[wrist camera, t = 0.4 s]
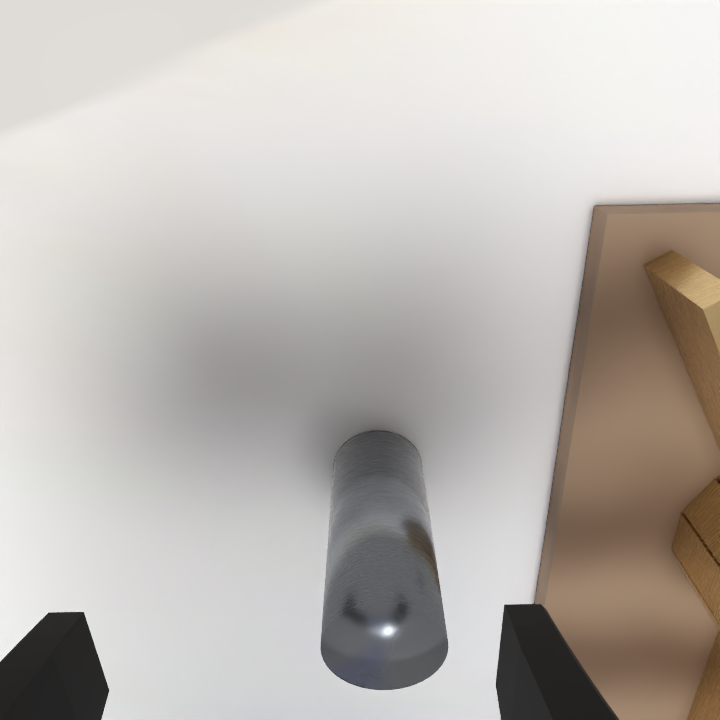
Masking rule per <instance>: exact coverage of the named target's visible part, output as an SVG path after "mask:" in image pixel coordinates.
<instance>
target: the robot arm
mask: <svg viewBox="0 0 720 720" xmlns="http://www.w3.org/2000/svg"><path fill="white" fill-rule="evenodd" d="M496 689H497V695H498V702H499V708H500V714H501V720H619V718H618V717H617V716H616V714H615V713H614V711H613V710H612V709H611V707H610V706H609V705H608V703H607V702H606V700H605V699H604V698H603V696H602V695H601V693H600V692H599V690H598V689H597V688H596V686H595V685H594V683H593V682H592V680H591V679H590V677H589V676H588V674H587V673H586V671H585V670H584V668H583V667H582V665H581V664H580V662H579V661H578V659H577V658H576V656H575V655H574V653H573V652H572V650H571V649H570V647H569V646H568V644H567V642H566V641H565V639H564V638H563V636H562V634H561V633H560V631H559V630H558V628H557V626H556V625H555V623H554V621H553V620H552V618H551V616H550V615H549V613H548V611H547V610H546V608H544V607H543V606H542V605H541V604H519V605H504V613H503V623H502V632H501V641H500V650H499V660H498V669H497V678H496ZM108 693H109V688H108V685H107V682H106V679H105V676H104V673H103V670H102V667H101V664H100V661H99V658H98V655H97V652H96V648H95V645H94V642H93V639H92V636H91V633H90V630H89V627H88V624H87V621H86V618H85V615H84V612H57V613H48V614H47V615H46V616H45V617H44V618H43V619H42V620H41V621H40V622H39V623H38V624H37V625H36V626H35V627H34V628H33V629H32V630H31V631H30V632H29V633H28V634H27V635H26V636H25V637H24V638H23V639H22V640H21V641H20V642H19V643H18V644H17V645H16V646H15V647H14V648H13V649H12V650H11V651H10V652H9V653H8V654H7V655H6V656H5V657H4V658H3V659H2V661H1V662H0V720H101V718H102V715H103V711H104V707H105V704H106V700H107V696H108Z"/></svg>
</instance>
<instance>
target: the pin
mask: <svg viewBox="0 0 720 720" xmlns="http://www.w3.org/2000/svg"><path fill="white" fill-rule="evenodd" d="M447 652H448V639H447V632H446V625H445V619H444V612H443V605H442V598H441V591H440V584H439V578H438V571H437V564H436V557H435V550H434V543H433V537H432V530H431V523H430V516H429V509H428V502H427V496H426V489H425V482H424V475H423V468H422V462H421V458H420V455H419V453H418V451H417V449H416V448H415V447H414V445H413V444H412V443H410V442H409V441H408V440H407V439H405V438H404V437H402V436H400V435H397V434H395V433H391V432H386V431H370V432H365V433H362V434H359V435H357V436H354V437H353V438H351V439H349V440H348V441H347V442H345V443H344V444H343V445H342V447H341V448H340V449H339V451H338V452H337V454H336V457H335V460H334V467H333V481H332V495H331V509H330V523H329V537H328V551H327V565H326V579H325V593H324V607H323V621H322V635H321V654H322V657H323V660H324V662H325V663H326V665H327V667H328V668H329V669H330V670H331V671H332V672H333V673H334V674H335V675H336V676H338V677H339V678H341V679H342V680H344V681H346V682H348V683H350V684H353V685H356V686H359V687H363V688H367V689H375V690H393V689H400V688H404V687H409V686H412V685H415V684H417V683H419V682H422V681H423V680H425V679H427V678H429V677H430V676H431V675H433V674H434V673H435V672H436V671H437V670H438V669H439V668H440V667H441V665H442V664H443V662H444V660H445V658H446V656H447Z"/></svg>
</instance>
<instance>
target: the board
mask: <svg viewBox="0 0 720 720" xmlns="http://www.w3.org/2000/svg"><path fill="white" fill-rule="evenodd" d="M670 250H673V251H675V252H676V253H678V254H680V255H681V256H683V257H684V258H686V259H688V260H689V261H691V262H692V263H694V264H696V265H697V266H699V267H700V268H702V269H704V270H705V271H707V272H709V273H710V274H712V275H713V276H715V277H717V278H718V279H720V203H706V204H660V205H614V206H594V212H593V219H592V225H591V232H590V238H589V245H588V252H587V258H586V265H585V272H584V278H583V285H582V292H581V298H580V305H579V312H578V318H577V325H576V332H575V338H574V345H573V352H572V358H571V365H570V372H569V378H568V385H567V392H566V398H565V405H564V412H563V418H562V425H561V431H560V438H559V445H558V451H557V458H556V465H555V471H554V478H553V485H552V491H551V498H550V505H549V511H548V518H547V525H546V531H545V538H544V545H543V551H542V558H541V565H540V571H539V578H538V585H537V591H536V598H535V604H541V605H542V606H543V607H544V608H546V610H547V611H548V613H549V615H550V616H551V618H552V620H553V621H554V623H555V625H556V626H557V628H558V630H559V631H560V633H561V634H562V636H563V638H564V639H565V641H566V642H567V644H568V646H569V647H570V649H571V650H572V652H573V653H574V655H575V656H576V658H577V659H578V661H579V662H580V664H581V665H582V667H583V668H584V670H585V671H586V673H587V674H588V676H589V677H590V679H591V680H592V682H593V683H594V685H595V686H596V688H597V689H598V690H599V692H600V693H601V695H602V696H603V698H604V699H605V700H606V702H607V703H608V705H609V706H610V707H611V709H612V710H613V711H614V713H615V714H616V716H617V717H618V718H619V720H687V717H688V715H689V712H690V709H691V706H692V703H693V700H694V697H695V695H696V692H697V689H698V686H699V683H700V680H701V678H702V675H703V672H704V669H705V666H706V663H707V660H708V658H709V655H710V652H711V649H712V646H713V643H714V641H715V638H716V635H717V632H718V629H717V627H716V626H715V624H714V622H713V621H712V619H711V618H710V616H709V614H708V613H707V611H706V609H705V608H704V606H703V605H702V603H701V601H700V600H699V598H698V597H697V595H696V593H695V592H694V590H693V589H692V587H691V585H690V584H689V582H688V580H687V579H686V577H685V575H684V573H683V571H682V569H681V567H680V565H679V563H678V561H677V559H676V557H675V555H674V553H673V551H672V547H671V546H672V542H673V539H674V535H675V531H676V528H677V524H678V520H679V517H680V513H684V512H683V511H682V510H683V509H684V508H685V507H686V506H687V505H688V504H689V503H690V502H691V501H692V500H693V499H694V498H695V497H696V496H697V495H698V494H699V493H700V492H701V491H702V490H703V489H704V488H705V487H706V486H707V485H708V484H709V483H710V482H711V481H712V480H713V479H714V478H715V479H717V480H719V479H718V477H717V476H720V451H719V448H718V446H717V443H716V441H715V439H714V436H713V434H712V431H711V429H710V427H709V424H708V422H707V419H706V417H705V414H704V412H703V410H702V407H701V405H700V402H699V400H698V398H697V395H696V393H695V390H694V388H693V385H692V383H691V381H690V378H689V376H688V373H687V371H686V368H685V366H684V364H683V361H682V359H681V356H680V354H679V352H678V349H677V347H676V344H675V342H674V339H673V337H672V335H671V332H670V330H669V327H668V325H667V322H666V320H665V318H664V315H663V313H662V310H661V308H660V306H659V303H658V301H657V298H656V296H655V293H654V291H653V289H652V286H651V284H650V281H649V279H648V276H647V274H646V272H645V269H644V267H643V264H645V263H647V262H649V261H651V260H653V259H655V258H657V257H659V256H661V255H663V254H665V253H666V252H668V251H670Z"/></svg>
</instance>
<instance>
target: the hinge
mask: <svg viewBox="0 0 720 720" xmlns="http://www.w3.org/2000/svg"><path fill="white" fill-rule="evenodd" d="M643 267H644V269H645V272H646V274H647V276H648V279H649V281H650V284H651V286H652V289H653V291H654V293H655V296H656V298H657V301H658V303H659V306H660V308H661V310H662V313H663V315H664V318H665V320H666V322H667V325H668V327H669V330H670V332H671V335H672V337H673V339H674V342H675V344H676V347H677V349H678V352H679V354H680V356H681V359H682V361H683V364H684V366H685V368H686V371H687V373H688V376H689V378H690V381H691V383H692V385H693V388H694V390H695V393H696V395H697V398H698V400H699V402H700V405H701V407H702V410H703V412H704V414H705V417H706V419H707V422H708V424H709V427H710V429H711V431H712V434H713V436H714V439H715V441H716V443H717V446H718V448H719V451H720V279H718V278H717V277H715V276H713V275H712V274H710V273H709V272H707V271H705V270H704V269H702V268H700V267H699V266H697V265H696V264H694V263H692V262H691V261H689V260H688V259H686V258H684V257H683V256H681V255H680V254H678V253H676V252H675V251H673V250H670V251H668V252H666V253H665V254H663V255H661V256H659V257H657V258H655V259H653V260H651V261H649V262H647V263H645V264H643ZM717 477H718V479H719V480H717V479H715V478H714V479H713V480H712V481H711V482H710V483H709V484H708V485H707V486H706V487H705V488H704V489H703V490H702V491H701V492H700V493H699V494H698V495H697V496H696V497H695V498H694V499H693V500H692V501H691V502H690V503H689V504H688V505H687V506H686V507H685V508H684V509H683V510H682V511H683V512H684V513H680V517H679V520H678V524H677V528H676V531H675V535H674V539H673V542H672V546H671V547H672V551H673V553H674V555H675V557H676V559H677V561H678V563H679V565H680V567H681V569H682V571H683V573H684V575H685V577H686V579H687V580H688V582H689V584H690V585H691V587H692V589H693V590H694V592H695V593H696V595H697V597H698V598H699V600H700V601H701V603H702V605H703V606H704V608H705V609H706V611H707V613H708V614H709V616H710V618H711V619H712V621H713V622H714V624H715V626H716V627H717V629H718V632H717V635H716V638H715V641H714V643H713V646H712V649H711V652H710V655H709V658H708V660H707V663H706V666H705V669H704V672H703V675H702V678H701V680H700V683H699V686H698V689H697V692H696V695H695V697H694V700H693V703H692V706H691V709H690V712H689V715H688V717H687V720H720V476H717Z"/></svg>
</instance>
